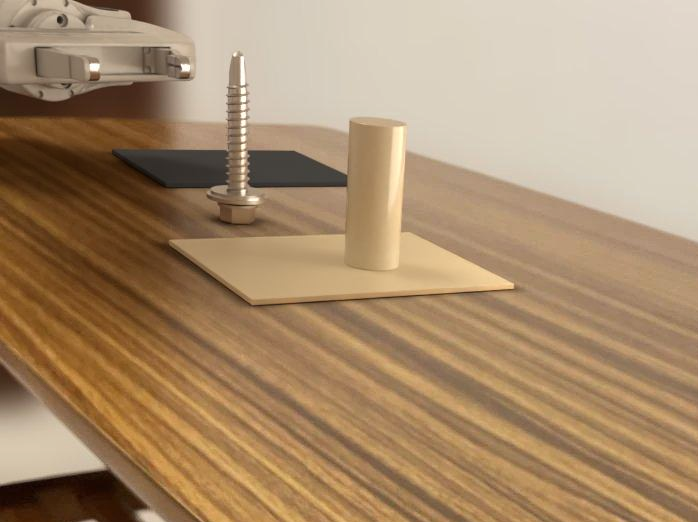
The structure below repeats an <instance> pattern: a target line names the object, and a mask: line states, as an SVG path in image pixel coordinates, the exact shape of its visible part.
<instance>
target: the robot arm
mask: <svg viewBox="0 0 698 522" xmlns="http://www.w3.org/2000/svg"><path fill="white" fill-rule="evenodd" d="M196 72H197V49H196V44H195V42H194V40H193V39H192V38H191V37H190V36H189V35H186V34H184V33H181V32H178V31H174V30H171V29H168V28H165V27H162V26H159V25H156V24H152V23H148V22H144V21H141V20H140V21H139V20H135V19H132V14H131V13H130V12H129V11H127V10H122V9H116V8H110V7H102V6H93V5H89V4H83V3H81V2H79V1H75V0H0V88H2V89H4V90H6V91H8V92H11V93H14V94H18V95H22V96H26V97H31V98H34V99H38V100H42V101H46V102H62V101H66V100H68V99H70V98H73V97H74V96H77V95H82V94H85V93H89V92H92V91H95V90H101V89H107V88H116V87H122V86H131V85H133V83H151V82H153V83H154V82H155V83H156V82H190V81H193V80H194V79H195V78H196V74H197V73H196Z"/></svg>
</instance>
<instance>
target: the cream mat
mask: <svg viewBox="0 0 698 522" xmlns="http://www.w3.org/2000/svg"><path fill="white" fill-rule="evenodd" d="M168 245H169V246H170V247H171V248H173V249H174V250H175V251H177V252H178V253H179V254H181V255H182V256H184V257H185V258H186V259H187V260H189V261H190V262H191V263H193V264H194V265H196V266H197V267H198V268H200V269H201V270H203V271H204V272H205V273H207V274H208V275H209V276H211V277H212V278H214V279H215V280H216V281H218V282H219V283H221V284H222V285H223V286H225V287H226V288H227V289H229V290H230V291H232V292H233V293H235V294H236V295H237V296H238V297H240V298H241V299H243V300H244V301H245V302H247V303H248V304H249V305H251V306H263V305H280V304H294V303H295V304H296V303H311V302H327V301H344V300H345V301H346V300H356V299H357V300H359V299H374V298H392V297H406V296H407V297H408V296H420V295H421V296H422V295H438V294H439V295H440V294H454V293H471V292H487V291H503V290H514V289H515V283H514V282H511V281H510V280H508V279H505V278H503V277H501V276H499V275H498V274H495V273H494V272H491V271H489V270H487V269H485V268H484V267H481V266H480V265H478V264H475V263H473V262H471V261H469V260H467V259H465V258H463V257H461V256H459V255H457V254H455V253H453V252H451V251H449V250H446V249H445V248H443V247H442V246H438V245H437V244H435V243H433V242H431V241H429V240H427V239H424V238H423V237H420V236H419V235H416V234H414V233H413V232H409V231H403V232H402V231H401V241H400V259H399V267H398V268H396V269H393V270H387V271H372V270H363V269H358V268H354V267H351V266H348V265H347V264H345V262H344V251H345V233H340V234H339V233H338V234H336V233H335V234H308V235H307V234H306V235H305V234H303V235H276V236H274V235H273V236H246V237H245V236H243V237H242V236H241V237H211V238H183V239H182V238H181V239H180V238H179V239H169V240H168Z"/></svg>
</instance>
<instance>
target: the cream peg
mask: <svg viewBox="0 0 698 522" xmlns="http://www.w3.org/2000/svg"><path fill="white" fill-rule="evenodd" d="M348 120H349V122H348V147H347V148H348V149H347V172H346V173H347V174H346V175H347V186H346V196H345V197H346V201H345V227H344V234H345V251H344V262H345V264H347V265H348V266H351V267H354V268H358V269H363V270H372V271H387V270H393V269H396V268H398V267H399V259H400V241H401V232H402V224H403V223H402V221H403V205H404V188H405V187H404V186H405V171H406V170H405V169H406V152H407V135H408V133H407V131H408V124H407V123H406V122H404V121H401V120H397V119H391V118H384V117H375V116H353V117H350V118H349V119H348Z"/></svg>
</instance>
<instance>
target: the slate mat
mask: <svg viewBox="0 0 698 522" xmlns="http://www.w3.org/2000/svg"><path fill="white" fill-rule="evenodd" d="M226 150H227V149H160V148H159V149H158V148H157V149H145V148H144V149H143V148H142V149H141V148H140V149H139V148H138V149H136V148H135V149H134V148H111V153H112V155H114V156H116V157H118V158H119V159H121V160H122V161H124V162H125V163H127V164H128V165H130V166H132V167H133V168H135V169H137V170H138V171H139V172H141V173H143V174H144V175H146V176H148V177H149V178H150V179H152V180H154V181H155V182H157V183H159V184H160V185H162V186H164V187H165V188H212V187H214V186H221V185H228V182H226V180H228V175H227V174H226V173H227V172H228V167H227V166H226V165H228V159H226V158H227V157H228V152H227V151H226ZM248 154H249V155H250V157H248V159H247V161H248V162H249V163H250V164H249V165H248V166H247V169H248V170H249V171H250V172H249V173H247V177H249V178H250V179H249V180H248V181H247V184H248V185H249V186H250V187H253V188H258V187H260V188H262V187H267V188H269V187H347V174H346V173H344V172H342V171H339V170H337V169H335V168H333V167H330V166H328V165H326V164H324V163H321V162H320V161H318V160H316V159H313V158H311V157H310V156H307V155H305V154H303V153H300V152H298V151H296V150H283V149H282V150H281V149H280V150H277V149H276V150H275V149H273V150H272V149H271V150H269V149H268V150H267V149H265V150H263V149H261V150H260V149H249V150H248Z"/></svg>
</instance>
